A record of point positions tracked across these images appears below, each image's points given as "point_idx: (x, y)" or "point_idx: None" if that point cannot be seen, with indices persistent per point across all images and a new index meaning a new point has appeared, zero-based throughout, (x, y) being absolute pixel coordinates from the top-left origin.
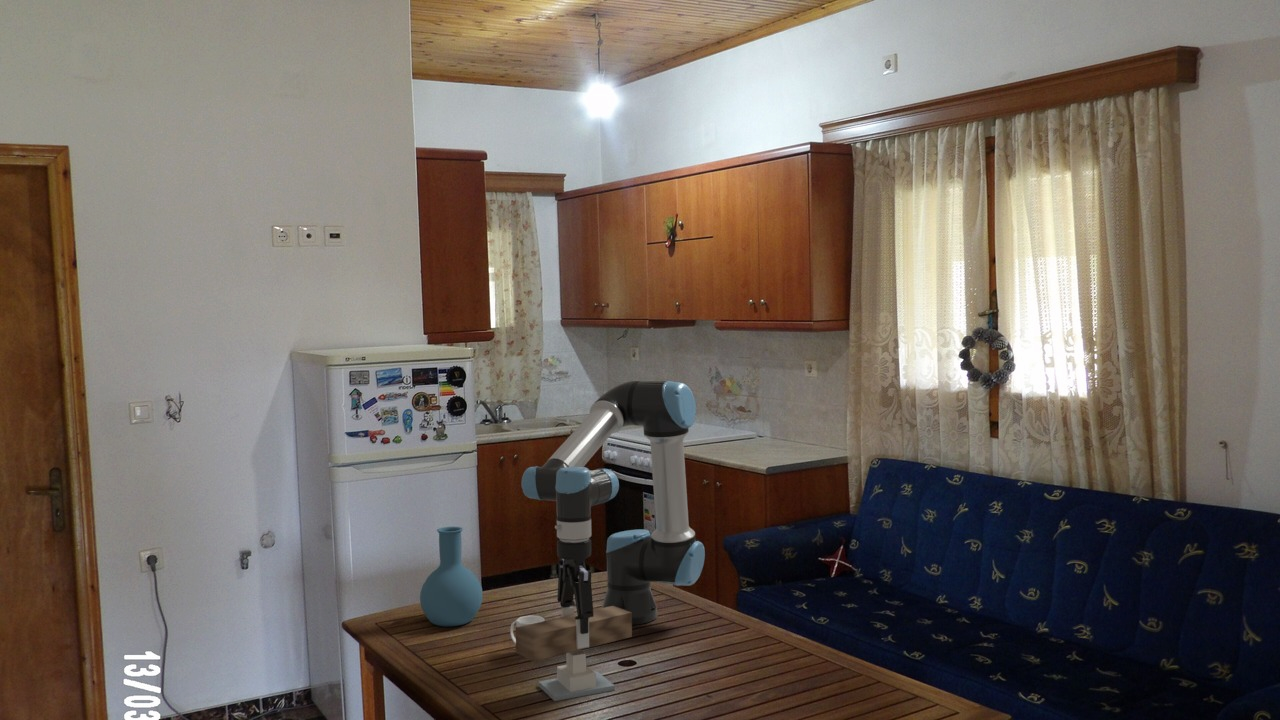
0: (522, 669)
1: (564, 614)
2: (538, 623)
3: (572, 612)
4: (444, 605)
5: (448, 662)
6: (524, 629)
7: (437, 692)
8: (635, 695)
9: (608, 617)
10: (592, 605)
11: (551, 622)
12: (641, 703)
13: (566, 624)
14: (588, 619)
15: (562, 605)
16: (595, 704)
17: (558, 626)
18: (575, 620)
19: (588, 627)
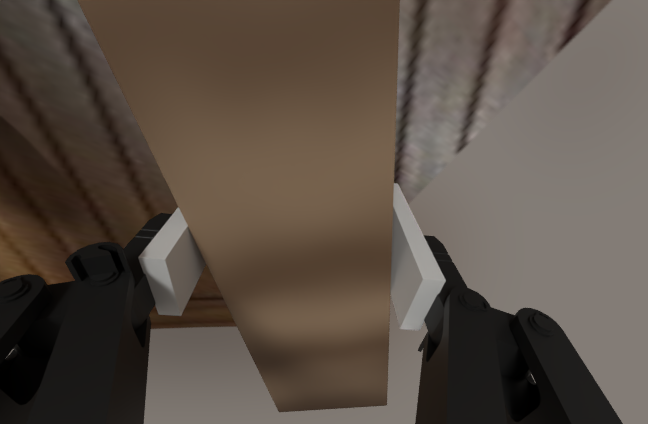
0: (125, 184)
1: (194, 279)
2: (269, 369)
3: (183, 244)
4: None
5: (48, 278)
6: (312, 404)
7: (208, 322)
8: (468, 6)
9: (387, 49)
10: (606, 403)
11: (283, 341)
12: (527, 30)
13: (347, 314)
14: (438, 270)
15: (150, 324)
16: (430, 145)
17: (352, 341)
18: (311, 266)
19: (423, 239)
